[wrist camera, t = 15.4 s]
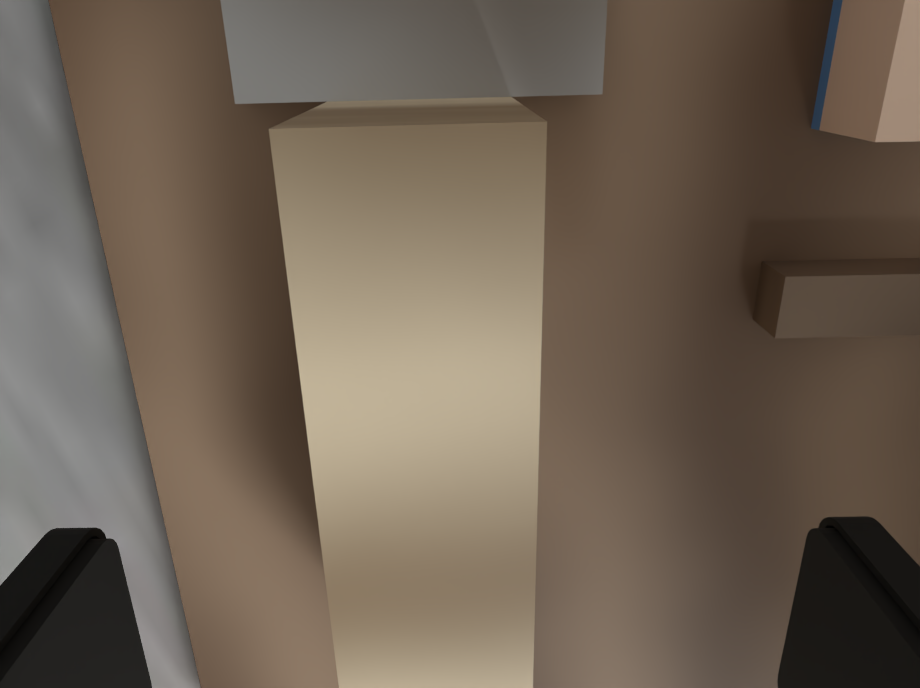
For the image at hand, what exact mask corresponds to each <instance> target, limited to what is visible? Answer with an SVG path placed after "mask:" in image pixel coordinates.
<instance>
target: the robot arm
mask: <svg viewBox="0 0 920 688" xmlns="http://www.w3.org/2000/svg"><path fill="white" fill-rule="evenodd" d="M777 682H778V688H920V566H919V565H918V564H917V563H916V562H915V561H914V560H913V558H912V557H911V556H910V555H909V554H908V553H907V552H906V551H905V550H904V549H903V548H902V547H901V545H900V544H899V543H898V542H897V541H896V540H895V539H894V538H893V537H892V536H891V535H890V534H889V532H888V531H887V530H886V529H885V528H884V527H883V526H882V525H881V524H880V523H879V522H878V521H877V520H876V519H874V518H872V517H868V516H857V517H827V518H824V519H823V520H822V521H821V522H820V524H819V527H818V528H813V529H811V530H810V531H809V532H808V534H807V537H806V542H805V546H804V551H803V556H802V561H801V566H800V571H799V575H798V580H797V585H796V590H795V595H794V599H793V604H792V609H791V614H790V619H789V624H788V628H787V633H786V638H785V643H784V648H783V653H782V657H781V662H780V667H779V672H778V679H777ZM0 688H152V685H151V680H150V676H149V672H148V668H147V664H146V660H145V655H144V651H143V647H142V643H141V639H140V635H139V631H138V627H137V623H136V618H135V614H134V610H133V606H132V602H131V598H130V594H129V590H128V586H127V581H126V577H125V573H124V569H123V565H122V561H121V557H120V553H119V548H118V546H117V543H116V542H115V541H114V540H113V539H106V536H105V534H104V533H103V531H102V530H101V529H98V528H56V529H53V530H50V531H49V532H48V533H47V534H45V535H44V537H43V538H42V539H41V540H40V541H39V542H38V543H37V545H36V546H35V547H34V548H33V549H32V550H31V551H30V552H29V554H28V555H27V556H26V557H25V558H24V559H23V560H22V562H21V563H20V564H19V565H18V566H17V567H16V568H15V570H14V571H13V572H12V573H11V574H10V575H9V576H8V578H7V579H6V580H5V581H4V582H3V583H2V584H1V586H0Z"/></svg>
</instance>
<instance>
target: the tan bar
mask: <svg viewBox="0 0 920 688" xmlns="http://www.w3.org/2000/svg"><path fill="white" fill-rule="evenodd" d="M220 1H221V8H222V15H223V22H224V29H225V36H226V43H227V50H228V57H229V64H230V71H231V78H232V85H233V93H234V100H235V104H252V103H291V102H325V103H323V104H321V105H319V106H317V107H315V108H313V109H310V110H308V111H306V112H304V113H302V114H300V115H297V116H295V117H293V118H291V119H289V120H287V121H285V122H282V123H280V124H278V125H276V126H274V127H272V128H270V129H269V136H270V144H271V152H272V160H273V168H274V176H275V184H276V192H277V200H278V208H279V216H280V224H281V231H282V239H283V247H284V255H285V263H286V271H287V279H288V287H289V295H290V303H291V311H292V319H293V327H294V335H295V343H296V351H297V359H298V367H299V375H300V383H301V391H302V398H303V406H304V414H305V422H306V430H307V438H308V446H309V454H310V462H311V470H312V478H313V486H314V494H315V502H316V510H317V518H318V526H319V534H320V542H321V550H322V557H323V565H324V573H325V581H326V589H327V597H328V605H329V613H330V621H331V629H332V637H333V645H334V653H335V661H336V669H337V677H338V685H339V688H533V665H534V625H535V585H536V545H537V505H538V465H539V425H540V385H541V345H542V305H543V265H544V225H545V185H546V145H547V121H546V120H544V119H543V118H541V117H540V116H538V115H537V114H535V113H534V112H532V111H531V110H530V109H528V108H527V107H525V106H524V105H522V104H521V103H519V102H518V101H517V100H515V99H514V98H512V97H522V96H560V95H599V94H602V93H603V74H604V56H605V37H606V19H607V0H220Z"/></svg>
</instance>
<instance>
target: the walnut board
mask: <svg viewBox="0 0 920 688" xmlns="http://www.w3.org/2000/svg"><path fill="white" fill-rule="evenodd" d="M49 5H50V9H51V14H52V18H53V23H54V27H55V32H56V36H57V41H58V45H59V50H60V54H61V59H62V63H63V68H64V72H65V77H66V81H67V86H68V90H69V95H70V99H71V104H72V108H73V113H74V117H75V122H76V126H77V131H78V135H79V140H80V144H81V149H82V153H83V158H84V162H85V167H86V171H87V176H88V180H89V185H90V189H91V194H92V198H93V203H94V207H95V212H96V216H97V221H98V225H99V230H100V234H101V239H102V243H103V248H104V252H105V257H106V261H107V266H108V270H109V275H110V279H111V284H112V288H113V293H114V297H115V302H116V306H117V311H118V315H119V320H120V324H121V329H122V334H123V338H124V343H125V347H126V352H127V356H128V361H129V365H130V370H131V374H132V379H133V383H134V388H135V392H136V397H137V401H138V406H139V410H140V415H141V419H142V424H143V428H144V433H145V437H146V442H147V446H148V451H149V455H150V460H151V464H152V469H153V473H154V478H155V482H156V487H157V491H158V496H159V500H160V505H161V509H162V514H163V518H164V523H165V527H166V532H167V536H168V541H169V545H170V550H171V554H172V559H173V563H174V568H175V572H176V577H177V581H178V586H179V590H180V595H181V599H182V604H183V608H184V613H185V617H186V622H187V626H188V631H189V635H190V640H191V644H192V649H193V654H194V658H195V663H196V667H197V672H198V676H199V681H200V685H201V688H339V685H338V677H337V669H336V661H335V653H334V645H333V637H332V629H331V621H330V613H329V605H328V597H327V589H326V581H325V573H324V565H323V557H322V550H321V542H320V534H319V526H318V518H317V510H316V502H315V494H314V486H313V478H312V470H311V462H310V454H309V446H308V438H307V430H306V422H305V414H304V406H303V398H302V391H301V383H300V375H299V367H298V359H297V351H296V343H295V335H294V327H293V319H292V311H291V303H290V295H289V287H288V279H287V271H286V263H285V255H284V247H283V239H282V231H281V224H280V216H279V208H278V200H277V192H276V184H275V176H274V168H273V160H272V152H271V144H270V136H269V129H270V128H272V127H274V126H276V125H278V124H280V123H282V122H285V121H287V120H289V119H291V118H293V117H295V116H297V115H300V114H302V113H304V112H306V111H308V110H310V109H313V108H315V107H317V106H319V105H321V104H323V103H325V102H291V103H252V104H235V100H234V93H233V85H232V78H231V71H230V64H229V57H228V50H227V43H226V36H225V29H224V22H223V15H222V8H221V1H220V0H49ZM832 5H833V0H607V19H606V37H605V56H604V74H603V93H602V94H599V95H560V96H522V97H512V98H514V99H515V100H517V101H518V102H519V103H521V104H522V105H524V106H525V107H527V108H528V109H530V110H531V111H532V112H534V113H535V114H537V115H538V116H540V117H541V118H543V119H544V120H546V121H547V145H546V185H545V225H544V265H543V305H542V345H541V385H540V425H539V465H538V505H537V545H536V585H535V625H534V665H533V688H778V682H777V679H778V672H779V667H780V662H781V657H782V653H783V648H784V643H785V638H786V633H787V628H788V624H789V619H790V614H791V609H792V604H793V599H794V595H795V590H796V585H797V580H798V575H799V571H800V566H801V561H802V556H803V551H804V546H805V542H806V537H807V534H808V532H809V531H810V530H811V529H813V528H818V527H819V524H820V522H821V521H822V520H823V519H824V518H827V517H857V516H868V517H872V518H874V519H876V520H877V521H878V522H879V523H880V524H881V525H882V526H883V527H884V528H885V529H886V530H887V531H888V532H889V534H890V535H891V536H892V537H893V538H894V539H895V540H896V541H897V542H898V543H899V544H900V545H901V547H902V548H903V549H904V550H905V551H906V552H907V553H908V554H909V555H910V556H911V557H912V558H913V560H914V561H915V562H916V563H917V564H918V565H919V566H920V141H916V142H871V141H867V140H862V139H857V138H853V137H848V136H844V135H839V134H834V133H830V132H825V131H820V130H816V129H811V125H812V119H813V114H814V108H815V102H816V96H817V91H818V85H819V79H820V74H821V68H822V62H823V57H824V51H825V45H826V39H827V34H828V28H829V22H830V17H831V11H832Z"/></svg>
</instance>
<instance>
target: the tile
mask: <svg viewBox="0 0 920 688" xmlns="http://www.w3.org/2000/svg"><path fill="white" fill-rule="evenodd" d="M811 129H816V130H820V131H825V132H830V133H834V134H839V135H844V136H848V137H853V138H857V139H862V140H867V141H871V142H916V141H920V0H833V5H832V11H831V17H830V22H829V28H828V34H827V39H826V45H825V51H824V57H823V62H822V68H821V74H820V79H819V85H818V91H817V96H816V102H815V108H814V114H813V119H812V125H811Z"/></svg>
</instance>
